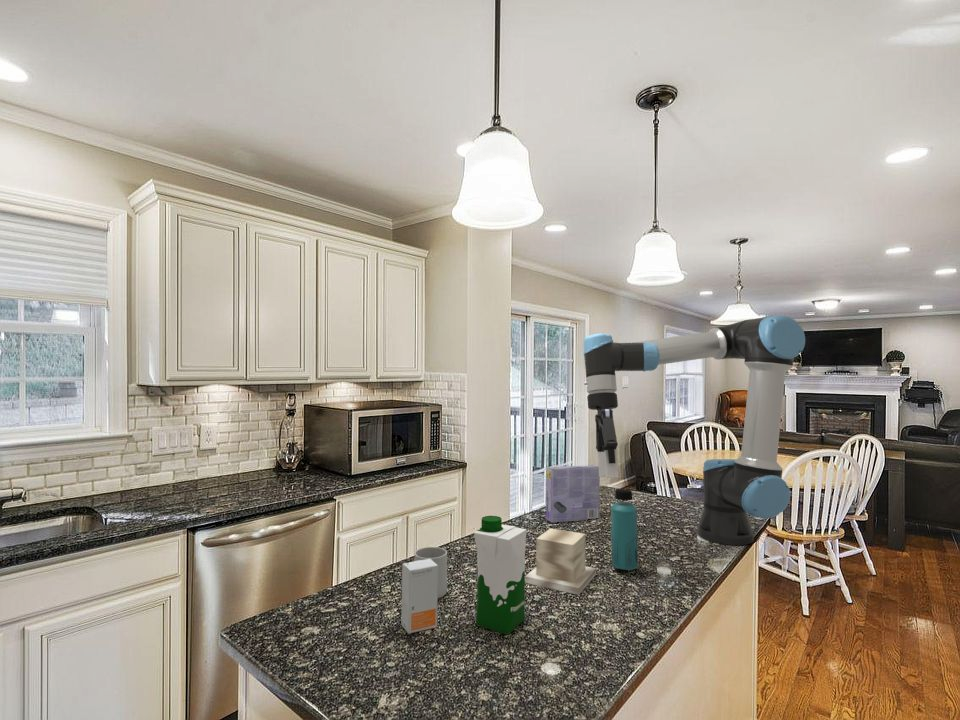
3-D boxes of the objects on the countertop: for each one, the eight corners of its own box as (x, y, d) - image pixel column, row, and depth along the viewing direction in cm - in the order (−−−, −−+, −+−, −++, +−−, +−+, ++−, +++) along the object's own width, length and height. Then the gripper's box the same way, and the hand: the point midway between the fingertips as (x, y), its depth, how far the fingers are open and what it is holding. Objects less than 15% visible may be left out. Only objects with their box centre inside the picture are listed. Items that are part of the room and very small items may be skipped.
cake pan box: (595, 515, 176) (595, 463, 176) (603, 519, 171) (603, 465, 171) (544, 520, 169) (544, 466, 170) (551, 524, 165) (551, 469, 165)
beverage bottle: (639, 577, 123) (639, 493, 123) (611, 575, 124) (610, 492, 124) (637, 567, 129) (636, 487, 129) (609, 565, 130) (609, 486, 131)
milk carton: (492, 608, 107) (492, 511, 107) (531, 619, 102) (531, 518, 102) (469, 625, 99) (469, 522, 100) (510, 639, 94) (510, 529, 95)
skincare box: (408, 635, 96) (408, 570, 96) (400, 625, 99) (401, 562, 100) (438, 627, 98) (438, 564, 99) (430, 618, 102) (430, 557, 102)
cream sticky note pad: (596, 574, 124) (595, 532, 125) (579, 594, 113) (579, 549, 113) (545, 564, 131) (545, 524, 131) (525, 582, 119) (525, 539, 119)
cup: (453, 593, 114) (453, 552, 114) (417, 607, 107) (417, 564, 107) (433, 583, 119) (433, 544, 119) (397, 596, 112) (397, 555, 112)
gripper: (582, 400, 145) (588, 476, 141) (592, 386, 121) (599, 478, 117) (609, 399, 145) (615, 476, 140) (625, 385, 120) (633, 477, 116)
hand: (608, 477), depth 128 cm, fingers open, 13 cm apart
